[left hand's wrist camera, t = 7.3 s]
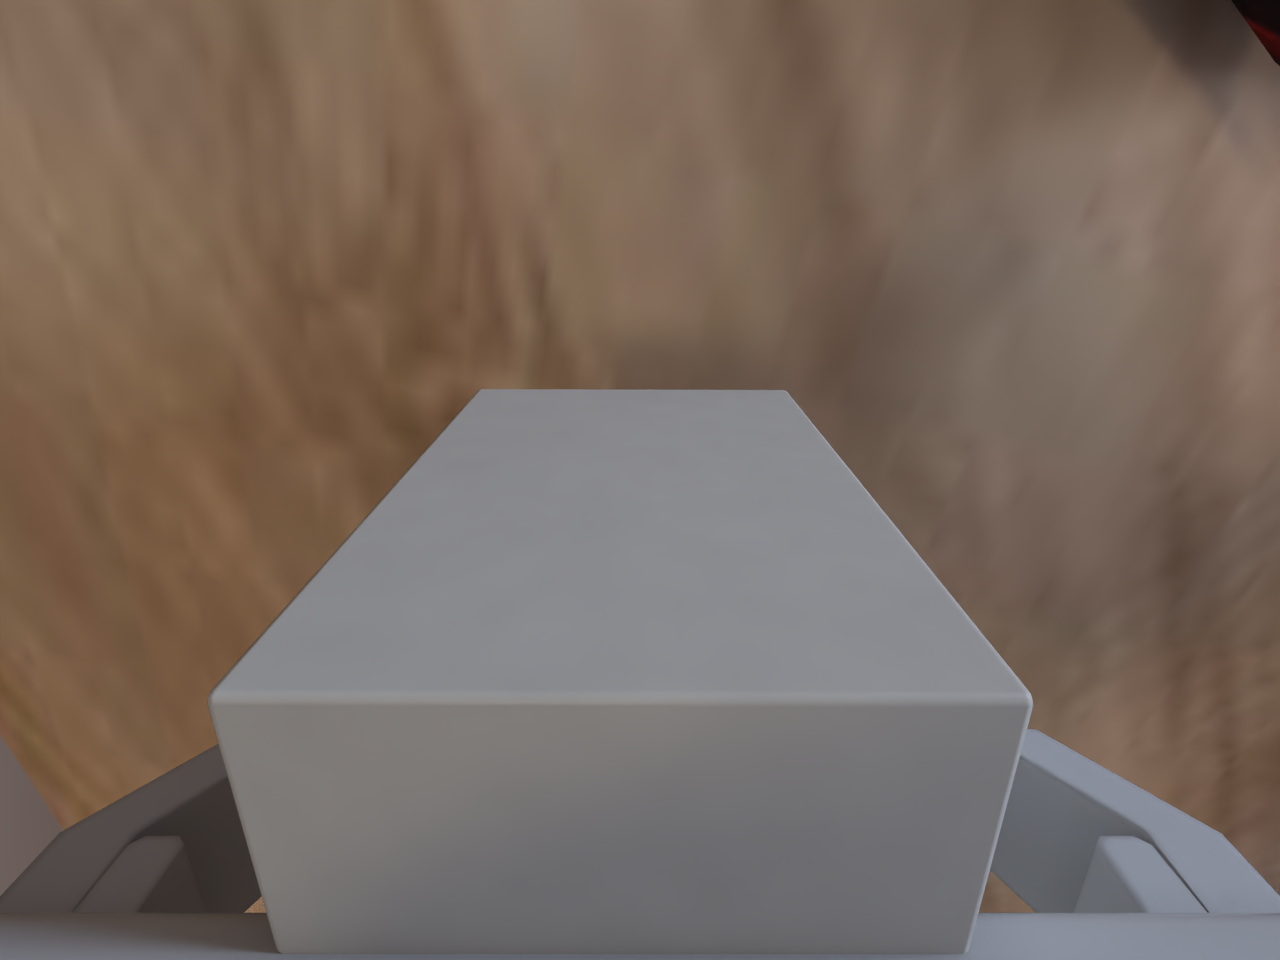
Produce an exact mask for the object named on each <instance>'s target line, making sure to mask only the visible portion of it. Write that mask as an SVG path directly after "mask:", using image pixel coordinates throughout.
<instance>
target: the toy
mask: <svg viewBox="0 0 1280 960" xmlns="http://www.w3.org/2000/svg"><path fill="white" fill-rule="evenodd" d="M1232 1H1233V3H1234V4H1235V6H1236V7H1237V9H1238V10H1239V11H1240V13H1241V14H1242V16H1243V17H1244V18H1245V20H1246V21H1247V23H1248V24H1249V26H1250V27H1251V28H1252V30H1253V31H1254V33H1255V34H1256V36H1257V37H1258V38H1259V40H1260V41H1261V43H1262V44H1263V45H1264V47H1265V48H1266V50H1267V51H1268V53H1269V54H1270V55H1271V57H1272V58H1273V60H1274V61H1275V62H1276V63H1277V64H1278V65H1279V66H1280V0H1232Z"/></svg>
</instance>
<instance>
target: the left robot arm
mask: <svg viewBox="0 0 1280 960" xmlns="http://www.w3.org/2000/svg"><path fill="white" fill-rule="evenodd" d="M990 870H991V871H992V872H993V873H994V874H995V875H996V876H997V877H998V878H1000V879H1001V880H1002V881H1003V882H1004V883H1005V884H1006V885H1007V886H1008V887H1009V888H1010V889H1012V890H1013V891H1014V892H1015V893H1016V894H1017V895H1018V896H1019V897H1020V898H1021V899H1022V900H1023V901H1025V902H1026V903H1027V904H1028V905H1029V906H1030V907H1031V908H1032V909H1033V910H1034V911H1035V912H1036V913H978V916H977V920H976V924H975V928H974V932H973V935H972V939H971V943H970V947H969V951H968V952H966V953H964V954H282V953H279V952H277V948H276V945H275V941H274V938H273V934H272V930H271V927H270V923H269V920H268V916H267V913H244V912H245V911H246V910H247V909H248V908H249V907H250V906H251V905H252V904H254V903H255V902H256V901H257V900H258V899H259V898H260V897H261V896H262V895H261V892H260V888H259V884H258V881H257V877H256V874H255V870H254V867H253V863H252V860H251V856H250V853H249V849H248V846H247V842H246V838H245V835H244V831H243V828H242V824H241V821H240V817H239V814H238V810H237V807H236V803H235V800H234V796H233V793H232V789H231V785H230V782H229V778H228V775H227V771H226V768H225V764H224V761H223V757H222V754H221V750H220V747H219V744H217V745H215V746H214V747H212V748H210V749H208V750H206V751H205V752H203V753H201V754H199V755H198V756H196V757H194V758H192V759H190V760H189V761H187V762H185V763H183V764H181V765H180V766H178V767H176V768H174V769H173V770H171V771H169V772H167V773H165V774H164V775H162V776H160V777H158V778H156V779H155V780H153V781H151V782H149V783H148V784H146V785H144V786H142V787H140V788H139V789H137V790H135V791H133V792H132V793H130V794H128V795H126V796H124V797H123V798H121V799H119V800H117V801H115V802H114V803H112V804H110V805H108V806H107V807H105V808H103V809H101V810H99V811H98V812H96V813H94V814H92V815H90V816H89V817H87V818H85V819H83V820H82V821H80V822H78V823H76V824H74V825H73V826H71V827H69V828H67V829H66V830H64V831H62V832H60V833H59V834H58V835H57V836H56V837H55V838H54V840H53V841H52V842H51V843H50V844H49V845H48V846H47V847H46V848H45V849H44V850H43V851H42V852H41V853H40V854H39V856H38V857H37V858H36V859H35V860H34V861H33V862H32V863H31V864H30V865H29V866H28V867H27V868H26V869H25V871H24V872H23V873H22V874H21V875H20V876H19V877H18V878H17V879H16V880H15V881H14V882H13V883H12V884H11V885H10V886H9V888H8V889H7V890H6V891H5V892H4V893H3V894H2V895H1V896H0V960H1280V896H1279V895H1278V894H1277V893H1276V892H1275V891H1274V889H1273V888H1272V887H1271V886H1270V885H1269V884H1268V883H1267V882H1266V881H1265V880H1264V879H1263V878H1262V877H1261V875H1260V874H1259V873H1258V872H1257V871H1256V870H1255V869H1254V868H1253V867H1252V866H1251V865H1250V864H1249V863H1248V861H1247V860H1246V859H1245V858H1244V857H1243V856H1242V855H1241V854H1240V853H1239V852H1238V851H1237V850H1236V849H1235V848H1234V846H1233V845H1232V844H1231V843H1230V842H1229V841H1228V840H1227V839H1226V838H1225V837H1224V836H1223V835H1222V834H1221V833H1219V832H1218V831H1216V830H1214V829H1212V828H1211V827H1209V826H1207V825H1205V824H1203V823H1202V822H1200V821H1198V820H1196V819H1194V818H1193V817H1191V816H1189V815H1187V814H1186V813H1184V812H1182V811H1180V810H1178V809H1177V808H1175V807H1173V806H1171V805H1170V804H1168V803H1166V802H1164V801H1162V800H1161V799H1159V798H1157V797H1155V796H1154V795H1152V794H1150V793H1148V792H1146V791H1145V790H1143V789H1141V788H1139V787H1138V786H1136V785H1134V784H1132V783H1130V782H1129V781H1127V780H1125V779H1123V778H1122V777H1120V776H1118V775H1116V774H1114V773H1113V772H1111V771H1109V770H1107V769H1106V768H1104V767H1102V766H1100V765H1098V764H1097V763H1095V762H1093V761H1091V760H1090V759H1088V758H1086V757H1084V756H1082V755H1081V754H1079V753H1077V752H1075V751H1074V750H1072V749H1070V748H1068V747H1066V746H1065V745H1063V744H1061V743H1059V742H1058V741H1056V740H1054V739H1052V738H1050V737H1049V736H1047V735H1045V734H1043V733H1042V732H1040V731H1038V730H1036V729H1027V731H1026V735H1025V738H1024V742H1023V746H1022V750H1021V754H1020V757H1019V761H1018V765H1017V769H1016V773H1015V776H1014V780H1013V784H1012V788H1011V791H1010V795H1009V799H1008V803H1007V807H1006V810H1005V814H1004V818H1003V822H1002V826H1001V829H1000V833H999V837H998V841H997V844H996V848H995V852H994V856H993V860H992V863H991V867H990Z"/></svg>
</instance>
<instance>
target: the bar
mask: <svg viewBox="0 0 1280 960" xmlns="http://www.w3.org/2000/svg"><path fill="white" fill-rule="evenodd" d="M207 704H208V708H209V711H210V715H211V718H212V722H213V725H214V729H215V732H216V736H217V739H218V743H219V747H220V750H221V754H222V757H223V761H224V764H225V768H226V771H227V775H228V778H229V782H230V785H231V789H232V793H233V796H234V800H235V803H236V807H237V810H238V814H239V817H240V821H241V824H242V828H243V831H244V835H245V838H246V842H247V846H248V849H249V853H250V856H251V860H252V863H253V867H254V870H255V874H256V877H257V881H258V884H259V888H260V892H261V895H262V899H263V902H264V906H265V909H266V913H267V916H268V920H269V923H270V927H271V930H272V934H273V938H274V941H275V945H276V948H277V952H279V953H282V954H964V953H966V952H968V951H969V947H970V943H971V939H972V935H973V932H974V928H975V924H976V920H977V916H978V913H979V909H980V905H981V901H982V898H983V894H984V890H985V886H986V882H987V879H988V875H989V871H990V867H991V863H992V860H993V856H994V852H995V848H996V844H997V841H998V837H999V833H1000V829H1001V826H1002V822H1003V818H1004V814H1005V810H1006V807H1007V803H1008V799H1009V795H1010V791H1011V788H1012V784H1013V780H1014V776H1015V773H1016V769H1017V765H1018V761H1019V757H1020V754H1021V750H1022V746H1023V742H1024V738H1025V735H1026V731H1027V727H1028V723H1029V720H1030V716H1031V712H1032V708H1033V701H1032V697H1031V693H1030V692H1029V691H1028V690H1027V688H1026V687H1025V686H1024V685H1023V683H1022V682H1021V681H1020V680H1019V678H1018V677H1017V676H1016V675H1015V674H1014V672H1013V671H1012V670H1011V669H1010V667H1009V666H1008V665H1007V664H1006V662H1005V661H1004V660H1003V659H1002V657H1001V656H1000V655H999V654H998V652H997V651H996V650H995V649H994V648H993V646H992V645H991V644H990V643H989V641H988V640H987V639H986V638H985V636H984V635H983V634H982V633H981V631H980V630H979V629H978V628H977V626H976V625H975V624H974V623H973V622H972V620H971V619H970V618H969V617H968V615H967V614H966V613H965V612H964V610H963V609H962V608H961V607H960V605H959V604H958V603H957V602H956V600H955V599H954V598H953V597H952V596H951V594H950V593H949V592H948V591H947V589H946V588H945V587H944V586H943V584H942V583H941V582H940V581H939V579H938V578H937V577H936V576H935V574H934V573H933V572H932V571H931V570H930V568H929V567H928V566H927V565H926V563H925V562H924V561H923V560H922V558H921V557H920V556H919V555H918V553H917V552H916V551H915V550H914V548H913V547H912V546H911V545H910V543H909V542H908V541H907V540H906V539H905V537H904V536H903V535H902V534H901V532H900V531H899V530H898V529H897V527H896V526H895V525H894V524H893V522H892V521H891V520H890V519H889V517H888V516H887V515H886V514H885V513H884V511H883V510H882V509H881V508H880V506H879V505H878V504H877V503H876V501H875V500H874V499H873V498H872V496H871V495H870V494H869V493H868V491H867V490H866V489H865V488H864V487H863V485H862V484H861V483H860V482H859V480H858V479H857V478H856V477H855V475H854V474H853V473H852V472H851V470H850V469H849V468H848V467H847V465H846V464H845V463H844V462H843V461H842V459H841V458H840V457H839V456H838V454H837V453H836V452H835V451H834V449H833V448H832V447H831V446H830V444H829V443H828V442H827V441H826V439H825V438H824V437H823V436H822V435H821V433H820V432H819V431H818V430H817V428H816V427H815V426H814V425H813V423H812V422H811V421H810V420H809V418H808V417H807V416H806V415H805V413H804V412H803V411H802V410H801V409H800V407H799V406H798V405H797V404H796V402H795V401H794V400H793V399H792V397H791V396H790V395H789V394H788V392H787V391H785V390H578V389H481V390H479V391H478V392H477V393H476V394H475V395H474V396H473V397H472V399H471V400H470V401H469V402H468V403H467V404H466V405H465V406H464V408H463V409H462V410H461V411H460V412H459V413H458V414H457V415H456V417H455V418H454V419H453V420H452V421H451V422H450V423H449V424H448V426H447V427H446V428H445V429H444V430H443V431H442V432H441V433H440V434H439V436H438V437H437V438H436V439H435V440H434V441H433V442H432V443H431V445H430V446H429V447H428V448H427V449H426V450H425V451H424V452H423V454H422V455H421V456H420V457H419V458H418V459H417V460H416V461H415V463H414V464H413V465H412V466H411V467H410V468H409V469H408V470H407V472H406V473H405V474H404V475H403V476H402V477H401V478H400V479H399V480H398V482H397V483H396V484H395V485H394V486H393V487H392V488H391V489H390V491H389V492H388V493H387V494H386V495H385V496H384V497H383V498H382V500H381V501H380V502H379V503H378V504H377V505H376V506H375V507H374V509H373V510H372V511H371V512H370V513H369V514H368V515H367V516H366V517H365V519H364V520H363V521H362V522H361V523H360V524H359V525H358V526H357V528H356V529H355V530H354V531H353V532H352V533H351V534H350V535H349V537H348V538H347V539H346V540H345V541H344V542H343V543H342V544H341V546H340V547H339V548H338V549H337V550H336V551H335V552H334V553H333V554H332V556H331V557H330V558H329V559H328V560H327V561H326V562H325V563H324V565H323V566H322V567H321V568H320V569H319V570H318V571H317V572H316V574H315V575H314V576H313V577H312V578H311V579H310V580H309V581H308V583H307V584H306V585H305V586H304V587H303V588H302V589H301V590H300V592H299V593H298V594H297V595H296V596H295V597H294V598H293V599H292V600H291V602H290V603H289V604H288V605H287V606H286V607H285V608H284V609H283V611H282V612H281V613H280V614H279V615H278V616H277V617H276V618H275V620H274V621H273V622H272V623H271V624H270V625H269V626H268V627H267V629H266V630H265V631H264V632H263V633H262V634H261V635H260V636H259V637H258V639H257V640H256V641H255V642H254V643H253V644H252V645H251V646H250V648H249V649H248V650H247V651H246V652H245V653H244V654H243V655H242V657H241V658H240V659H239V660H238V661H237V662H236V663H235V664H234V666H233V667H232V668H231V669H230V670H229V671H228V672H227V673H226V675H225V676H224V677H223V678H222V679H221V680H220V681H219V682H218V683H217V685H216V686H215V687H214V688H213V689H212V690H211V691H210V694H209V697H208V703H207Z"/></svg>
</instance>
